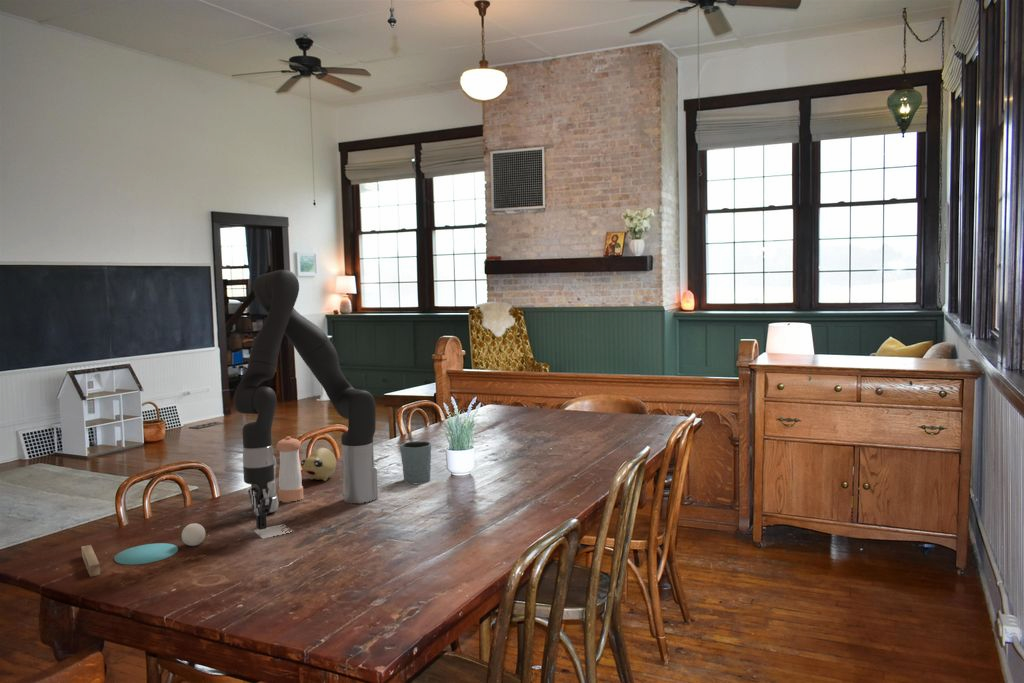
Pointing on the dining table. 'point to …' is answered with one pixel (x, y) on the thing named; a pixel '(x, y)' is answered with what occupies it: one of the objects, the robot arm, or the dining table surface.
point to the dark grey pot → (416, 461)
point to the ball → (193, 534)
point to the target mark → (146, 553)
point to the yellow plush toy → (319, 464)
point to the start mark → (271, 531)
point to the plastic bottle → (273, 491)
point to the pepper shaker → (289, 470)
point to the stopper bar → (90, 560)
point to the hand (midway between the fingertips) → (261, 528)
